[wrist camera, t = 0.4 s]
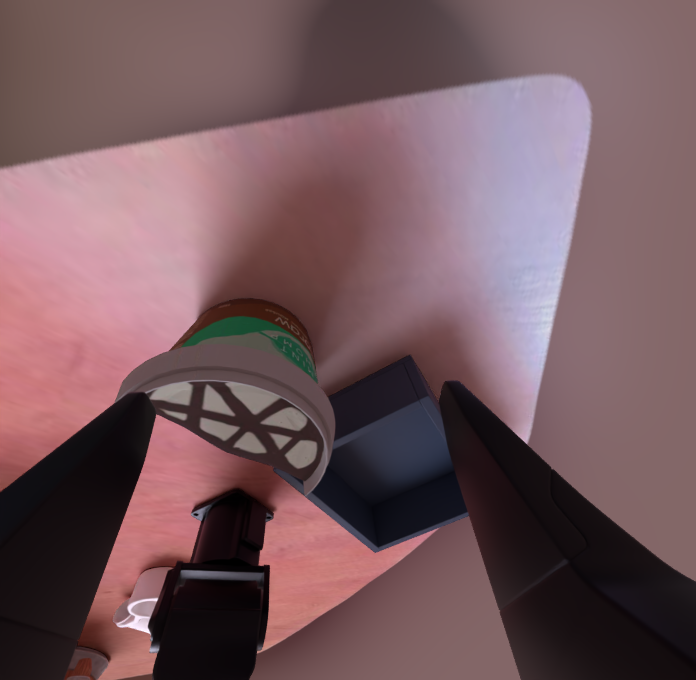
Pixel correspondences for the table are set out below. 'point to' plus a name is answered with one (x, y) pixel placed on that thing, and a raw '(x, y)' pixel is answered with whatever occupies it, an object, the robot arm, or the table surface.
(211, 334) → the food container
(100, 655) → the mug
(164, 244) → the table surface
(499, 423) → the robot arm
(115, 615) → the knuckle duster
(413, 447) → the tote
